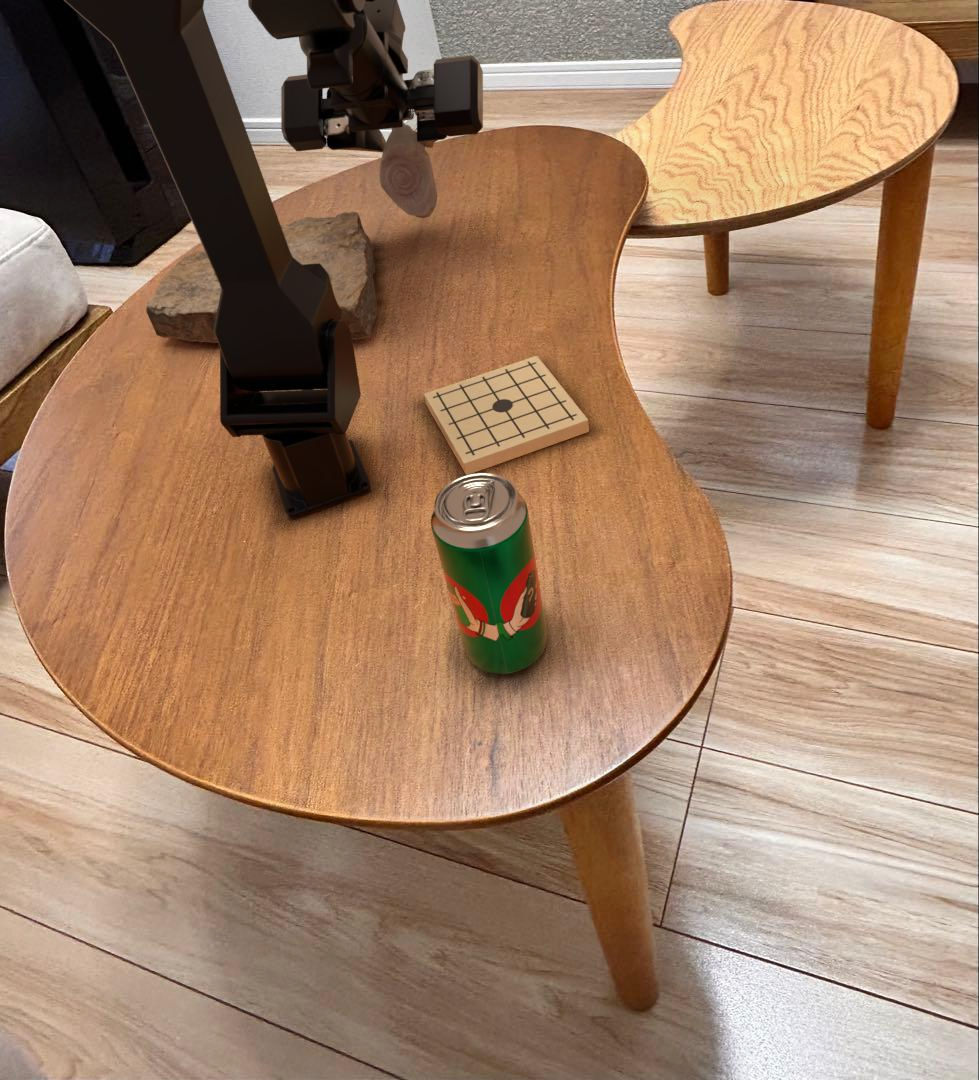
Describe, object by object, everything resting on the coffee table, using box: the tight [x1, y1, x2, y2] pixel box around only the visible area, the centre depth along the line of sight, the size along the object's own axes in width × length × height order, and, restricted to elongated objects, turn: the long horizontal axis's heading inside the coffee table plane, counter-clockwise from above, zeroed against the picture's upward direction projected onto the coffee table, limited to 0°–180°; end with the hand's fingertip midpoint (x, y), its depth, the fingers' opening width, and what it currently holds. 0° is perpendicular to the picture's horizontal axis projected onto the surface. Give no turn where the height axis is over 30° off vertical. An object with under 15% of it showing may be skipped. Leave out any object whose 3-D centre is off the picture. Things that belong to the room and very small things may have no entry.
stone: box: [145, 211, 379, 344], centre depth 86 cm, size 21×19×4 cm
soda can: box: [430, 472, 548, 675], centre depth 48 cm, size 5×5×12 cm
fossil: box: [378, 121, 438, 219], centre depth 88 cm, size 6×4×10 cm, turn 73°
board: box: [423, 355, 590, 475], centre depth 68 cm, size 10×10×1 cm
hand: (407, 145), depth 88 cm, fingers closed on fossil, 4 cm apart
